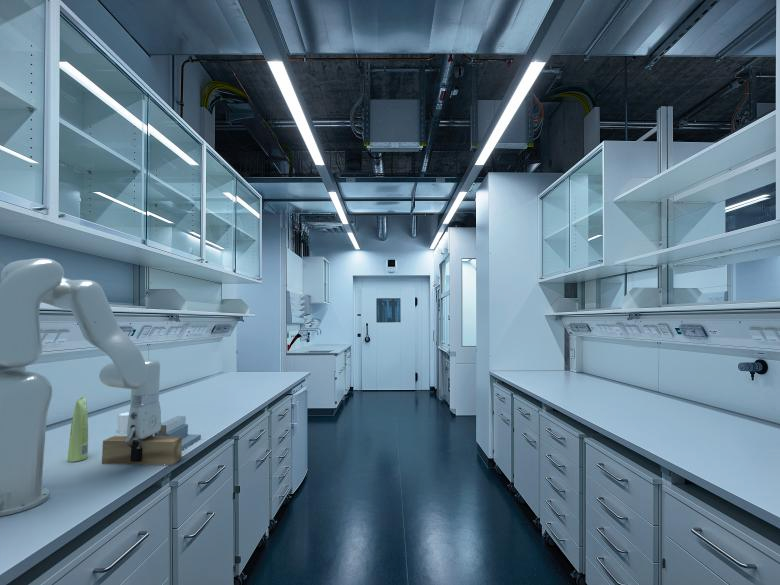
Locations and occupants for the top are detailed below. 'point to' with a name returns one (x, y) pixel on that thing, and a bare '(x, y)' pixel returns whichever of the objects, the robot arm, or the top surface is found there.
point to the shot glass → (123, 422)
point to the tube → (79, 432)
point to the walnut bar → (143, 450)
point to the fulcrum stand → (178, 430)
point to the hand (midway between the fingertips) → (142, 457)
